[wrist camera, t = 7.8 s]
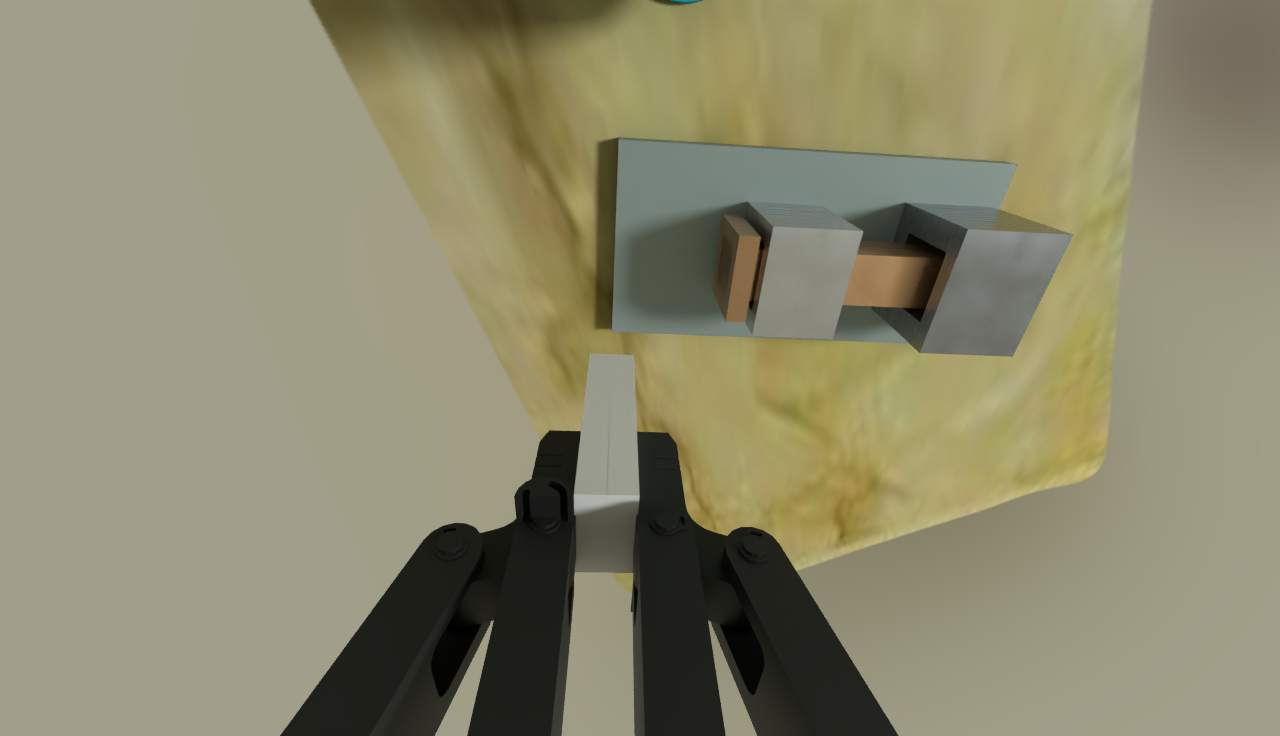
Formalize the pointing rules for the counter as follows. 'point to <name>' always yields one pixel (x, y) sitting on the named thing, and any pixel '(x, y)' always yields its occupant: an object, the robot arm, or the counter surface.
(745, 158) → the board
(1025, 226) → the socket
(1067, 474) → the counter surface
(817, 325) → the sleeve
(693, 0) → the security camera
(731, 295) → the bolt
